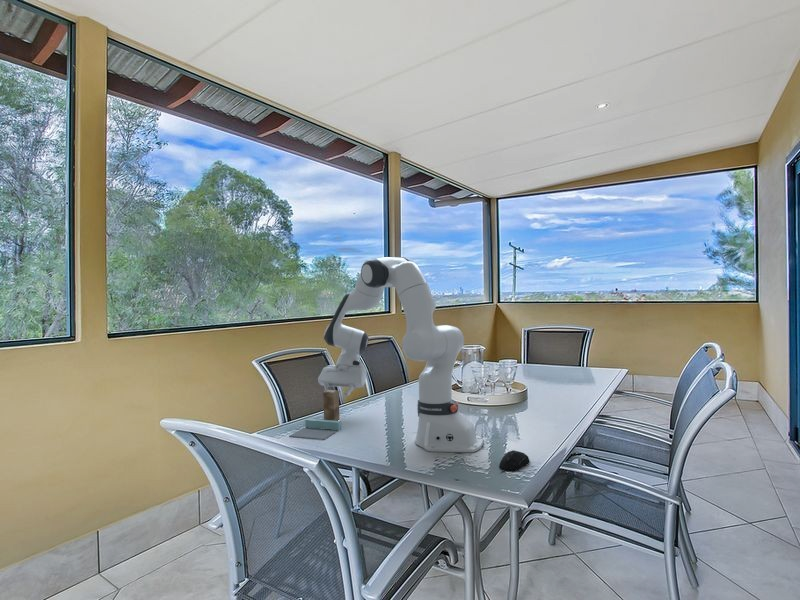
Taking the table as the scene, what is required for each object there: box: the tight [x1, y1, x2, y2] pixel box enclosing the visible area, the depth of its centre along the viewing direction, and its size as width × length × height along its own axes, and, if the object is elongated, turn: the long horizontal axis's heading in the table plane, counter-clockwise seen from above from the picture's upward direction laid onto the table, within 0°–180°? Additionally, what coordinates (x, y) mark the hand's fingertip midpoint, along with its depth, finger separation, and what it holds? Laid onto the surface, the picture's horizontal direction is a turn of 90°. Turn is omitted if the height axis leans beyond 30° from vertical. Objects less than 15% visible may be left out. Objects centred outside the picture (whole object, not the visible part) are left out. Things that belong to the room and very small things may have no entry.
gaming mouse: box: [498, 450, 530, 474], centre depth 130 cm, size 6×15×4 cm, turn 139°
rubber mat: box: [288, 428, 337, 441], centre depth 163 cm, size 14×9×1 cm, turn 71°
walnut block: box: [322, 389, 341, 421], centre depth 179 cm, size 4×4×12 cm
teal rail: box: [304, 418, 342, 431], centre depth 170 cm, size 14×2×3 cm, turn 71°
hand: (336, 394), depth 183 cm, fingers open, 8 cm apart
